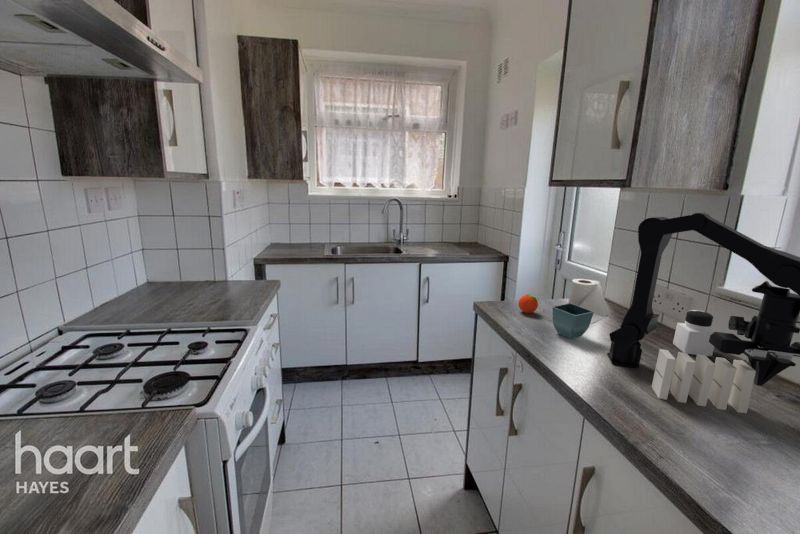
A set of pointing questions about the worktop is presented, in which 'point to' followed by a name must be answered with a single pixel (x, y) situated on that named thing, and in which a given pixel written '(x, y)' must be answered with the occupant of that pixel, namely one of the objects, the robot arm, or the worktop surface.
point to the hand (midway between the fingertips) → (757, 384)
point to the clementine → (528, 303)
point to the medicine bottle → (695, 334)
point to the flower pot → (571, 320)
